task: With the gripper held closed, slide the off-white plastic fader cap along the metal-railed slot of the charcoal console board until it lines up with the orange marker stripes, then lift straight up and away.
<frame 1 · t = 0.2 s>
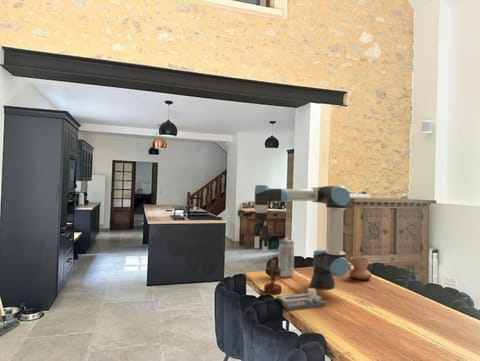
hand: (260, 250, 177), 28 cm above the table, fingers open, 13 cm apart
grey canister: (285, 276, 225), on the table
console: (300, 302, 172), on the table
fader: (311, 293, 174), point 5 cm above the table, slide at 0.0 cm
ceramic jug: (359, 278, 222), on the table
brown rounded tall piece: (272, 291, 191), on the table
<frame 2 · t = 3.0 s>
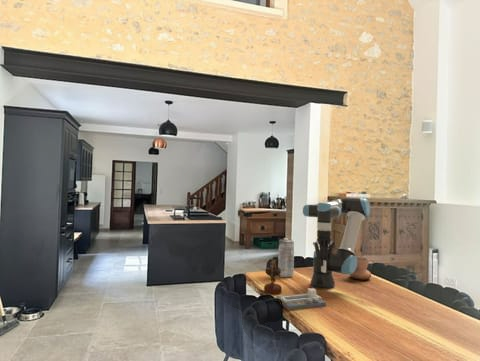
hand: (323, 271, 176), 16 cm above the table, fingers closed
nothing on the table moved.
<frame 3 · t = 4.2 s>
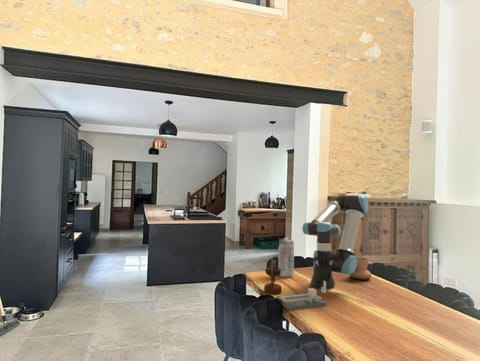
hand: (323, 292, 176), 5 cm above the table, fingers closed
nothing on the table moved.
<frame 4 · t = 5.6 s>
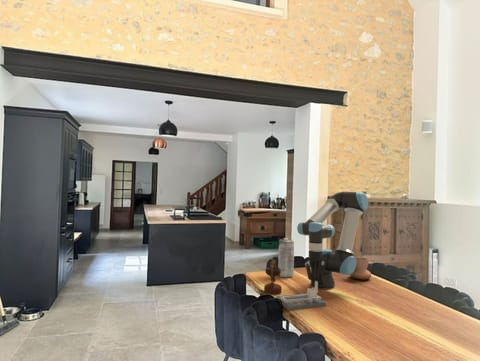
hand: (315, 292, 174), 5 cm above the table, fingers closed
fader: (311, 293, 174), point 5 cm above the table, slide at 0.4 cm, touching gripper
everything else where it was.
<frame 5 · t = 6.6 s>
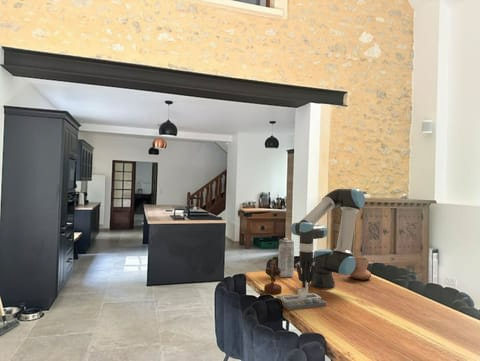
hand: (305, 293, 173), 5 cm above the table, fingers closed
fader: (301, 294, 172), point 5 cm above the table, slide at 6.3 cm, touching gripper
everything else where it was.
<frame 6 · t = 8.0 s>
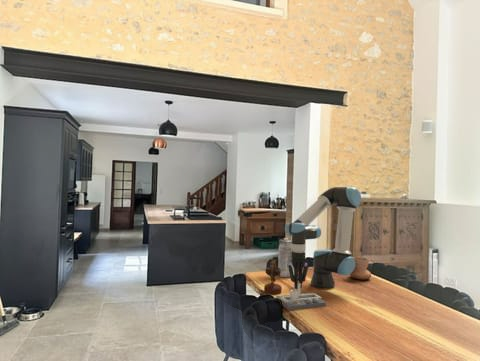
hand: (298, 294, 171), 5 cm above the table, fingers closed
fader: (294, 295, 171), point 5 cm above the table, slide at 11.0 cm, touching gripper
everything else where it was.
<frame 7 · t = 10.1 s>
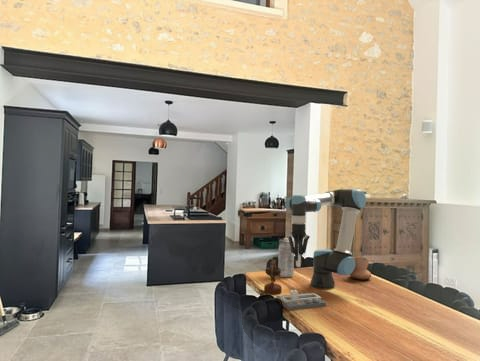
hand: (298, 266, 172), 20 cm above the table, fingers closed
fader: (294, 295, 171), point 5 cm above the table, slide at 11.0 cm
everything else where it was.
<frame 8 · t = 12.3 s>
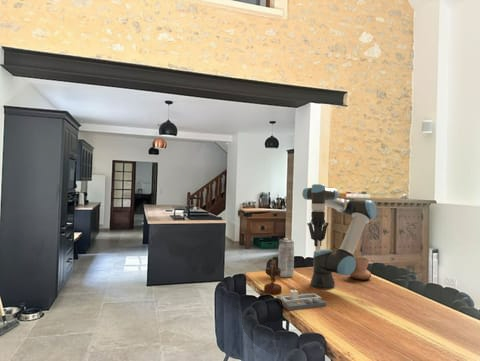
hand: (317, 251, 180), 26 cm above the table, fingers closed
nothing on the table moved.
at the end: fader slide at 11.0 cm; the gripper is holding nothing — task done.
